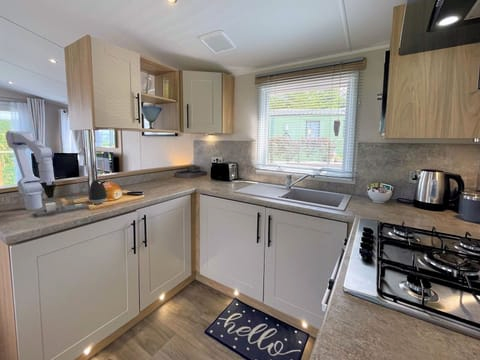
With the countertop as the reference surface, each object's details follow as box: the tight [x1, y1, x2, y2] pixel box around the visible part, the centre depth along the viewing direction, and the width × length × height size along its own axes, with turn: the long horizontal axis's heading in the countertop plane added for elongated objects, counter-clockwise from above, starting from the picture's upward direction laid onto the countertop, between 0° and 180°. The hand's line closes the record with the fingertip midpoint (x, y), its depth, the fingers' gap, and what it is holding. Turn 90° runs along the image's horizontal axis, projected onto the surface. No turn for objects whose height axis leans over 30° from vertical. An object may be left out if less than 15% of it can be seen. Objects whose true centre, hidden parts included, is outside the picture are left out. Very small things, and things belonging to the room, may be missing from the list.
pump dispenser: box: [87, 179, 108, 205], centre depth 144 cm, size 10×10×15 cm
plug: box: [45, 201, 57, 212], centre depth 123 cm, size 4×4×5 cm
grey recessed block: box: [35, 201, 90, 218], centre depth 126 cm, size 9×22×6 cm, turn 135°
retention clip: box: [59, 197, 69, 205], centre depth 123 cm, size 2×9×2 cm, turn 49°
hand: (49, 196), depth 122 cm, fingers open, 7 cm apart
